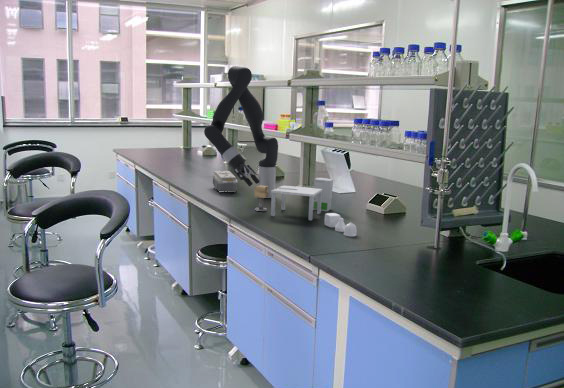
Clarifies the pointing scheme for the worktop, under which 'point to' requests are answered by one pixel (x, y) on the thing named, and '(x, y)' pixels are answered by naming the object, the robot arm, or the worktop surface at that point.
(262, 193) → the tan block with stem
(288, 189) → the white slotted table
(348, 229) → the container set
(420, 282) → the worktop surface
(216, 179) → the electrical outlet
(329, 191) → the skincare box
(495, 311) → the worktop surface
